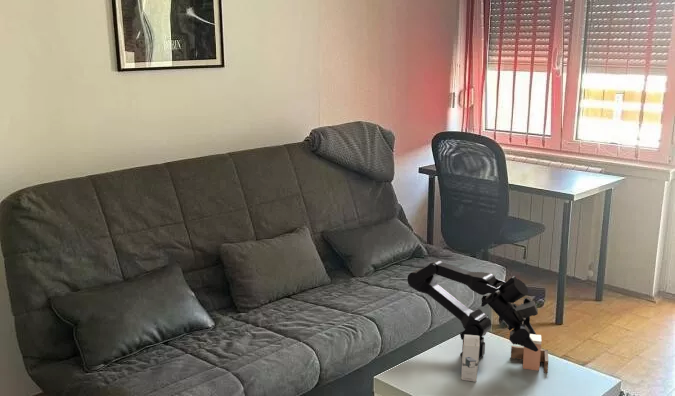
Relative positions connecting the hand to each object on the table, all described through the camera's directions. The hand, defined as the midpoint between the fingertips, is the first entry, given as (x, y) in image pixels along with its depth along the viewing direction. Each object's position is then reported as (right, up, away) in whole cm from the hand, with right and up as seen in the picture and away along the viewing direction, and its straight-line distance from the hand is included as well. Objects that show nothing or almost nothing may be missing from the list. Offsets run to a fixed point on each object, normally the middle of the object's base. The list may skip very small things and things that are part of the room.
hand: (537, 344), depth 213 cm
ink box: (-22, -9, -4) cm, 24 cm away
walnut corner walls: (-2, -7, +3) cm, 8 cm away
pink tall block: (-1, -7, +2) cm, 8 cm away
